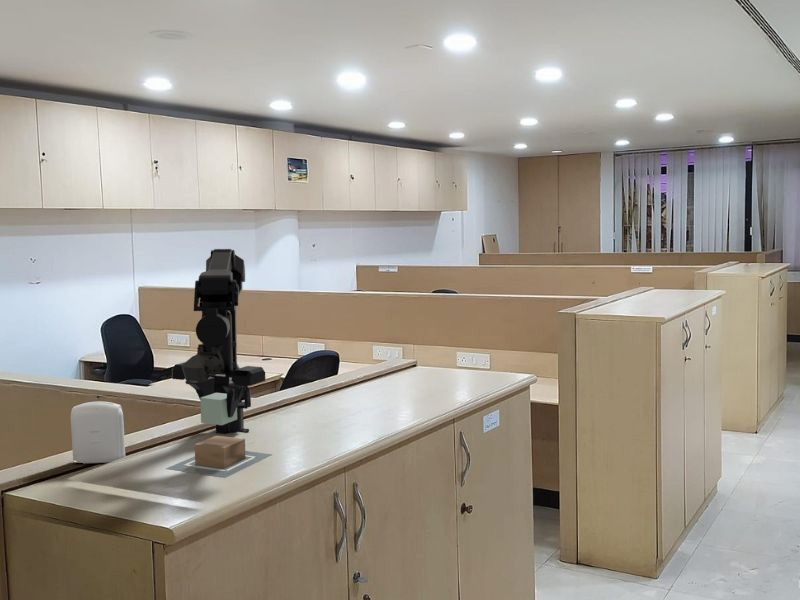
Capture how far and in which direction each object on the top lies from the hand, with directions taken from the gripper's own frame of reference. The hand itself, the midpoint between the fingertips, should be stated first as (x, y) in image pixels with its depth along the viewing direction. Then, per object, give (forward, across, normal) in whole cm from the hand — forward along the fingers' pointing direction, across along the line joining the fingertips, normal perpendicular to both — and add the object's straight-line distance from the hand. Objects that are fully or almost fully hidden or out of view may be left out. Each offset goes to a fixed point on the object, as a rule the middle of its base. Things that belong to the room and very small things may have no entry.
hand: (219, 415), depth 154 cm
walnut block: (+9, 0, 0) cm, 9 cm away
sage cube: (+1, 0, 0) cm, 1 cm away
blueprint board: (+10, 0, 0) cm, 10 cm away
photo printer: (+10, -25, -7) cm, 28 cm away
